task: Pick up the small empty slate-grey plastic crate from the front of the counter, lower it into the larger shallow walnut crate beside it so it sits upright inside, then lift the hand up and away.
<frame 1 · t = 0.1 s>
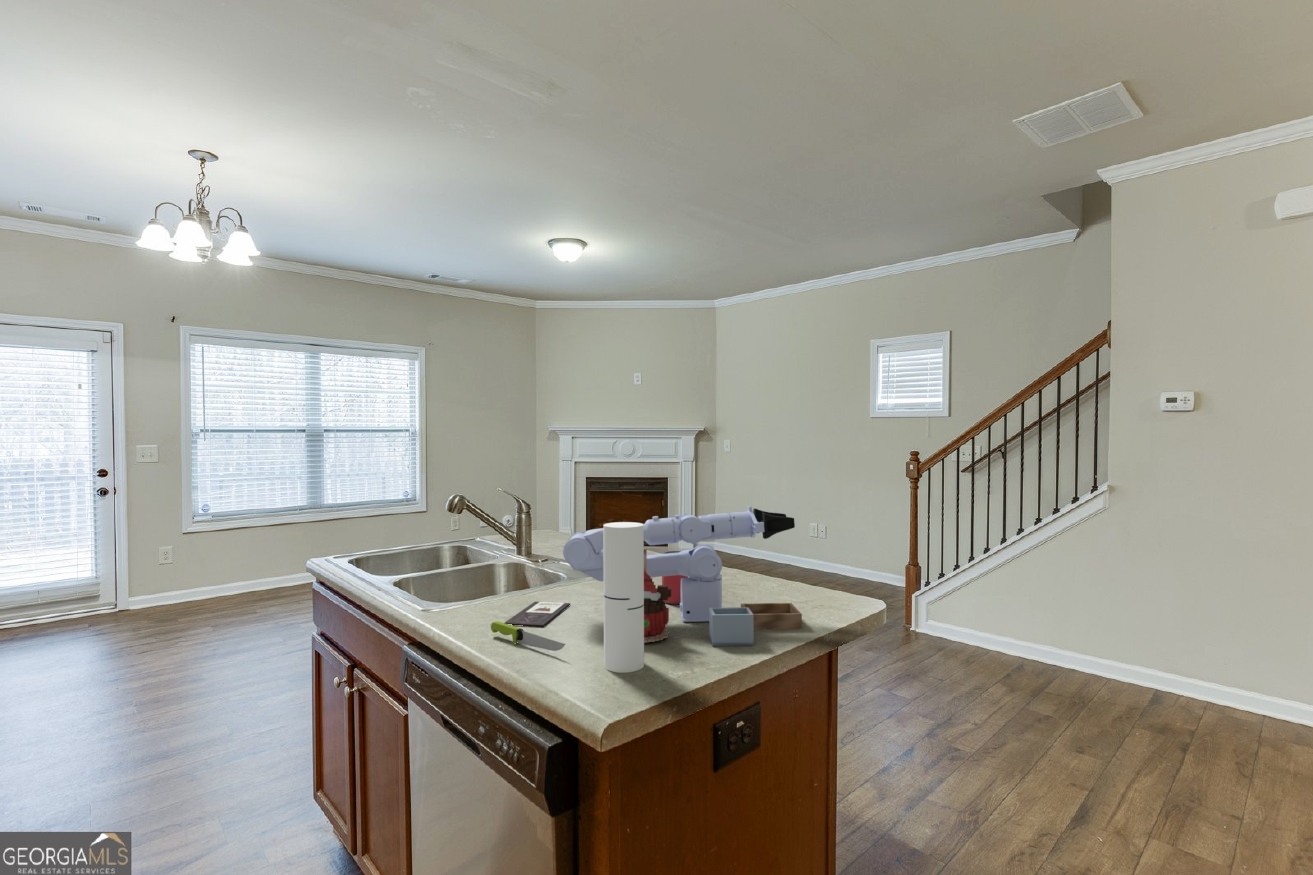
hand: (790, 520, 142), 22 cm above the counter, tool horizontal, fingers open, 7 cm apart
kitchen knife: (527, 648, 122), on the counter
beer can: (675, 602, 156), on the counter
grey crate: (730, 641, 125), on the counter
cylindrical container: (624, 666, 112), on the counter
chocolate bar: (538, 617, 144), on the counter
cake: (644, 639, 127), on the counter
walnut crate: (770, 624, 137), on the counter
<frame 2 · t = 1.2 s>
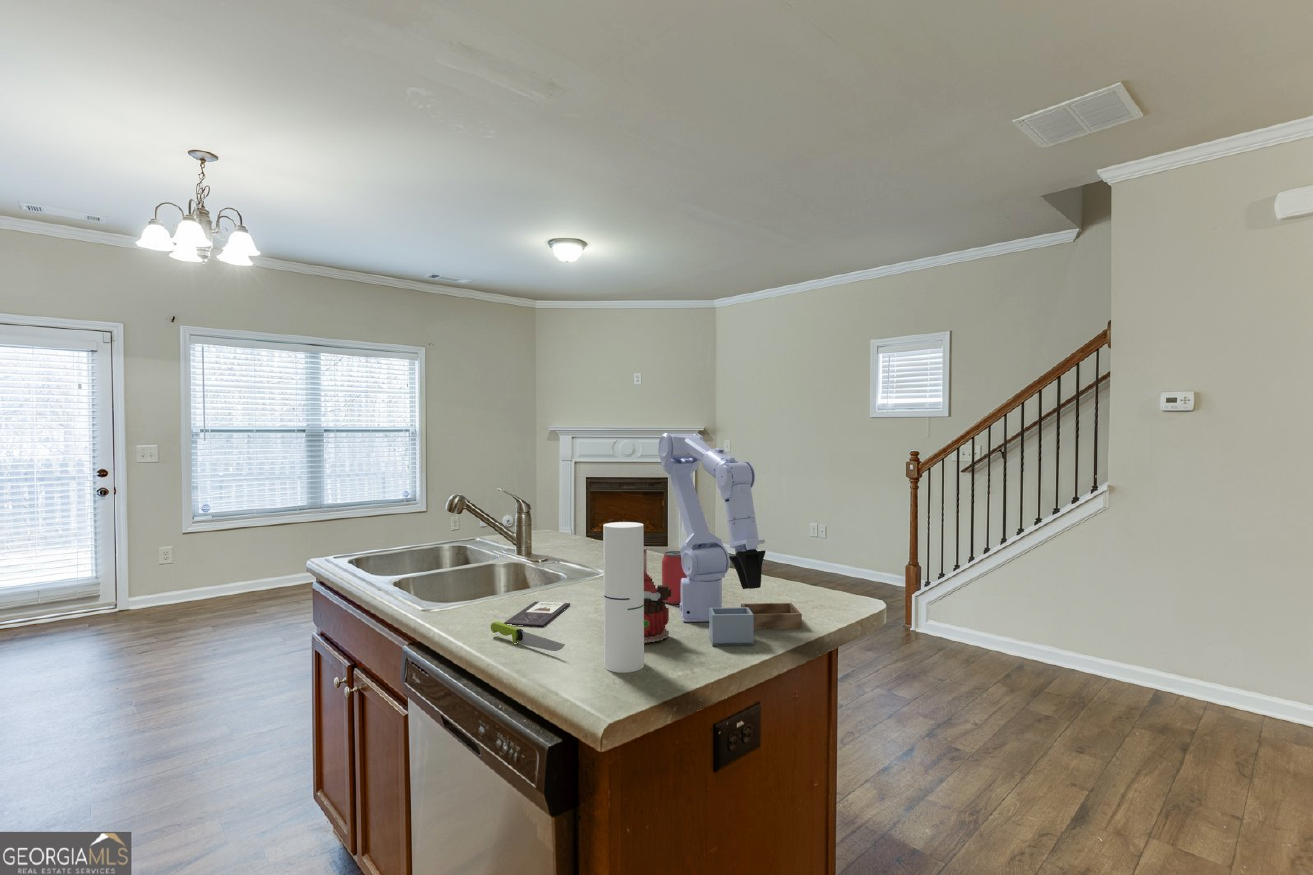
hand: (751, 588, 125), 10 cm above the counter, tool pointing down, fingers open, 7 cm apart
nothing on the counter moved.
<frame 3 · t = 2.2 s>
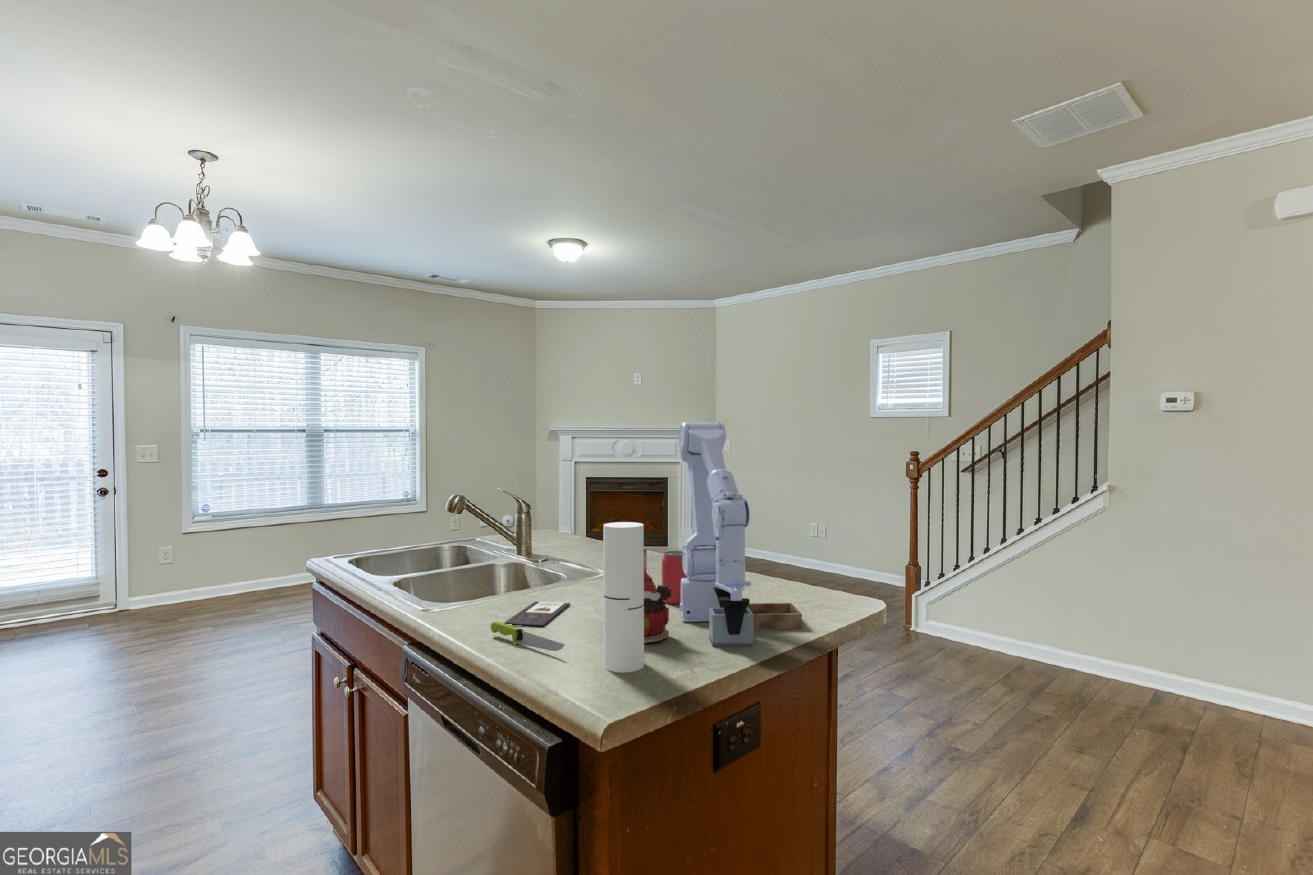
hand: (731, 628, 125), 3 cm above the counter, tool pointing down, fingers open, 7 cm apart
nothing on the counter moved.
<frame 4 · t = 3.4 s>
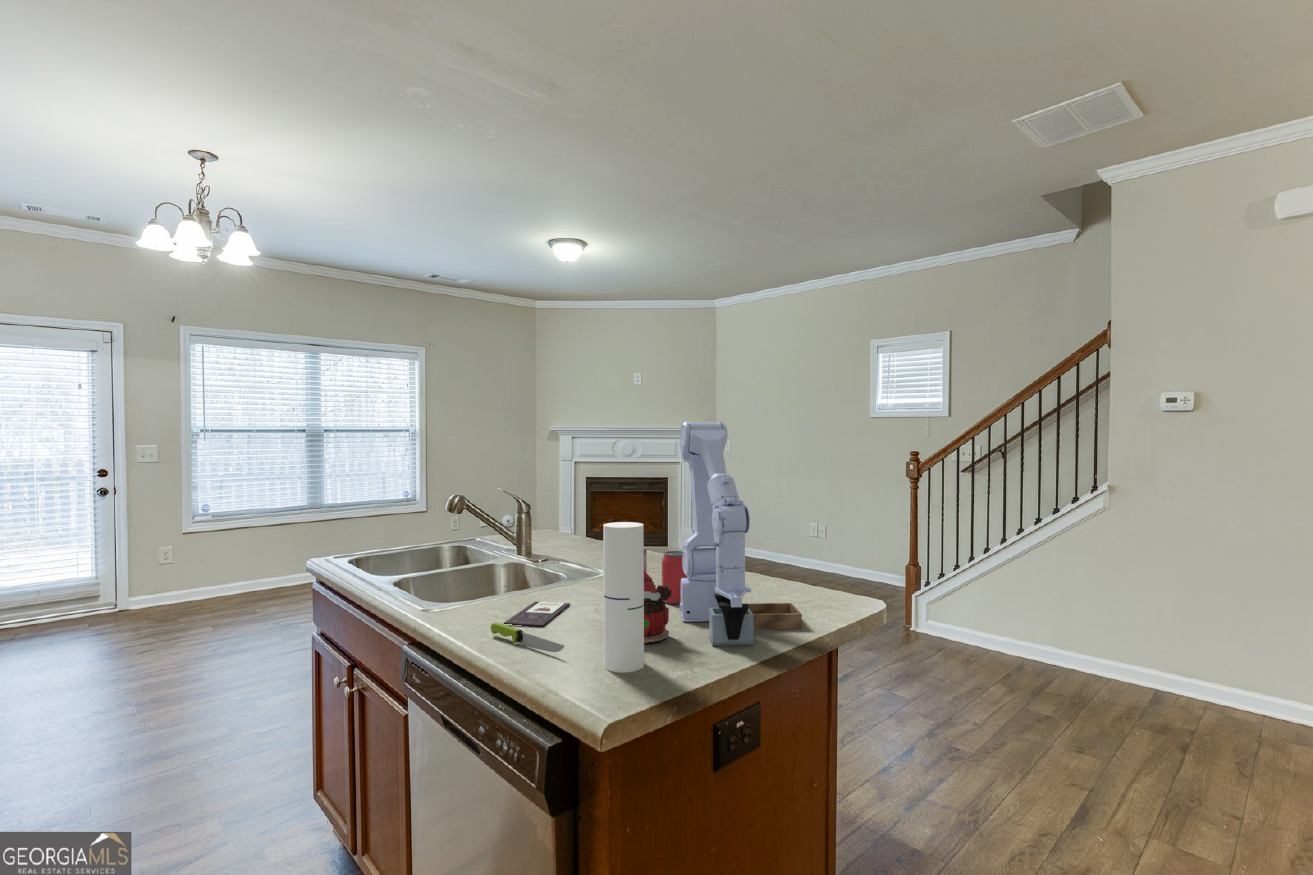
hand: (730, 634, 125), 1 cm above the counter, tool pointing down, fingers closed on grey crate, 5 cm apart
grey crate: (730, 641, 125), on the counter, touching gripper
everything else where it was.
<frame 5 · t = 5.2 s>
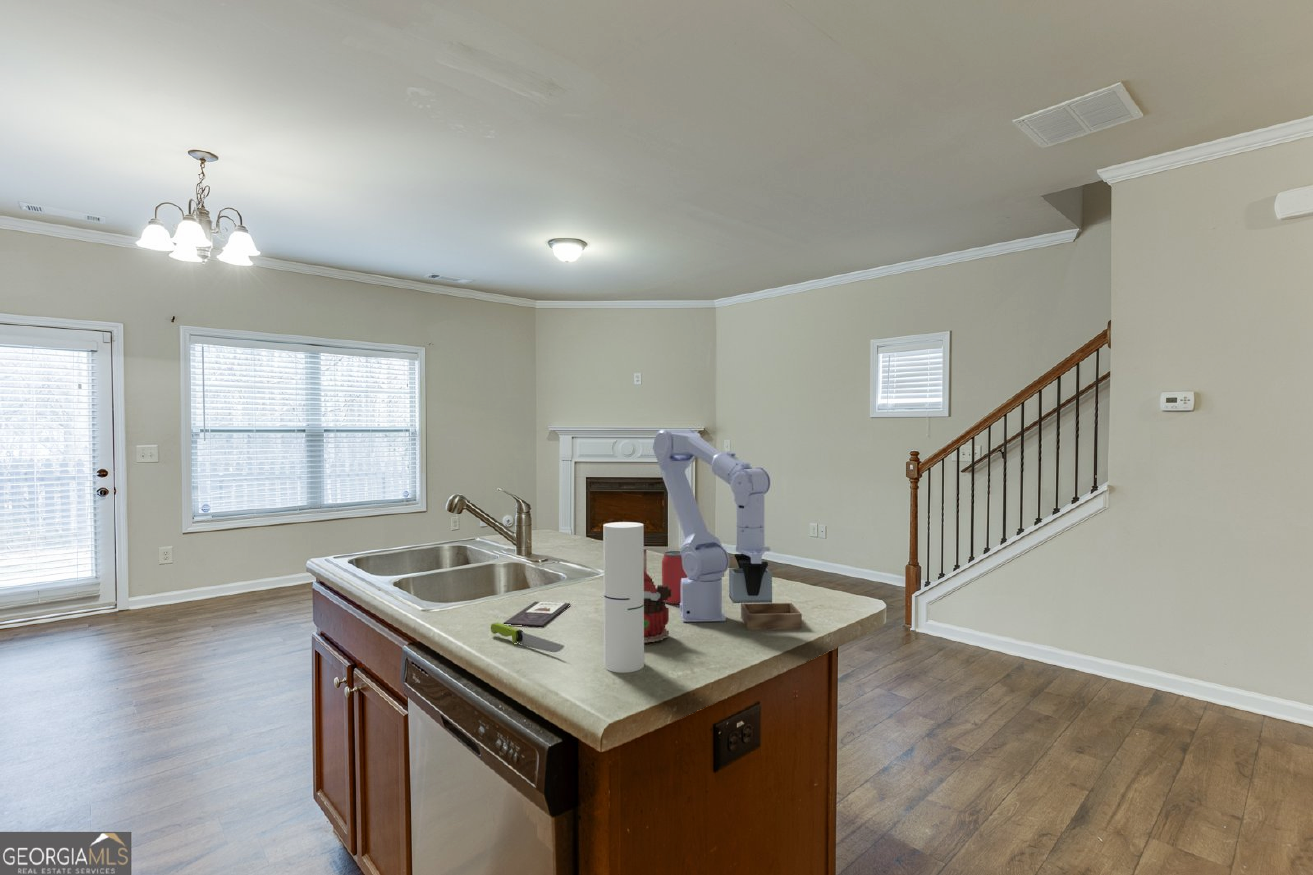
hand: (750, 591, 131), 8 cm above the counter, tool pointing down, fingers closed on grey crate, 5 cm apart
grey crate: (750, 599, 131), point 7 cm above the counter, touching gripper
everything else where it was.
when the fingers open (4 cm above the counter, at t = 7.4 s): grey crate drops 2 cm, resting on walnut crate.
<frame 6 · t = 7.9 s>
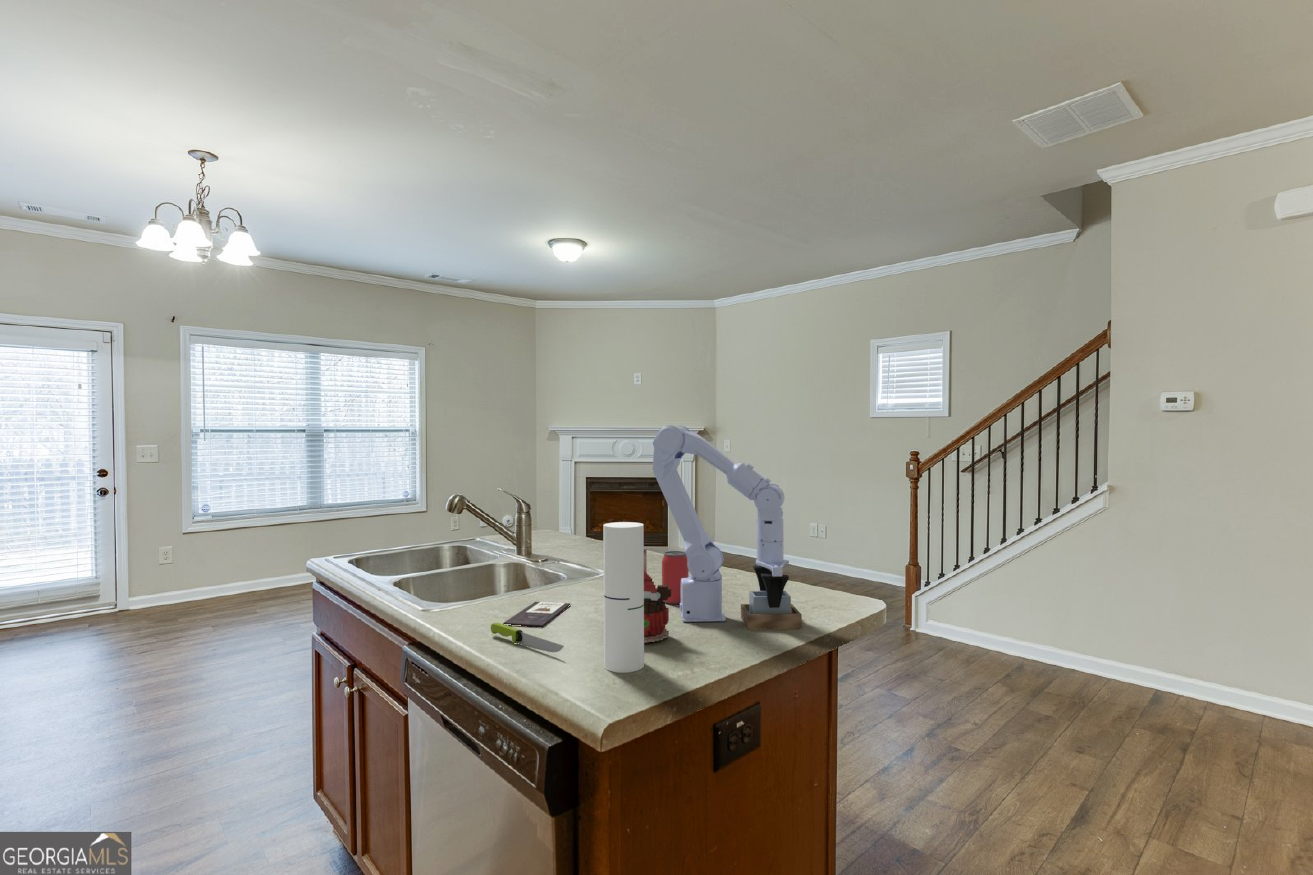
hand: (770, 602, 137), 4 cm above the counter, tool pointing down, fingers open, 7 cm apart
grey crate: (769, 621, 137), resting on walnut crate
walnut crate: (770, 625, 137), on the counter, touching grey crate
everything else where it was.
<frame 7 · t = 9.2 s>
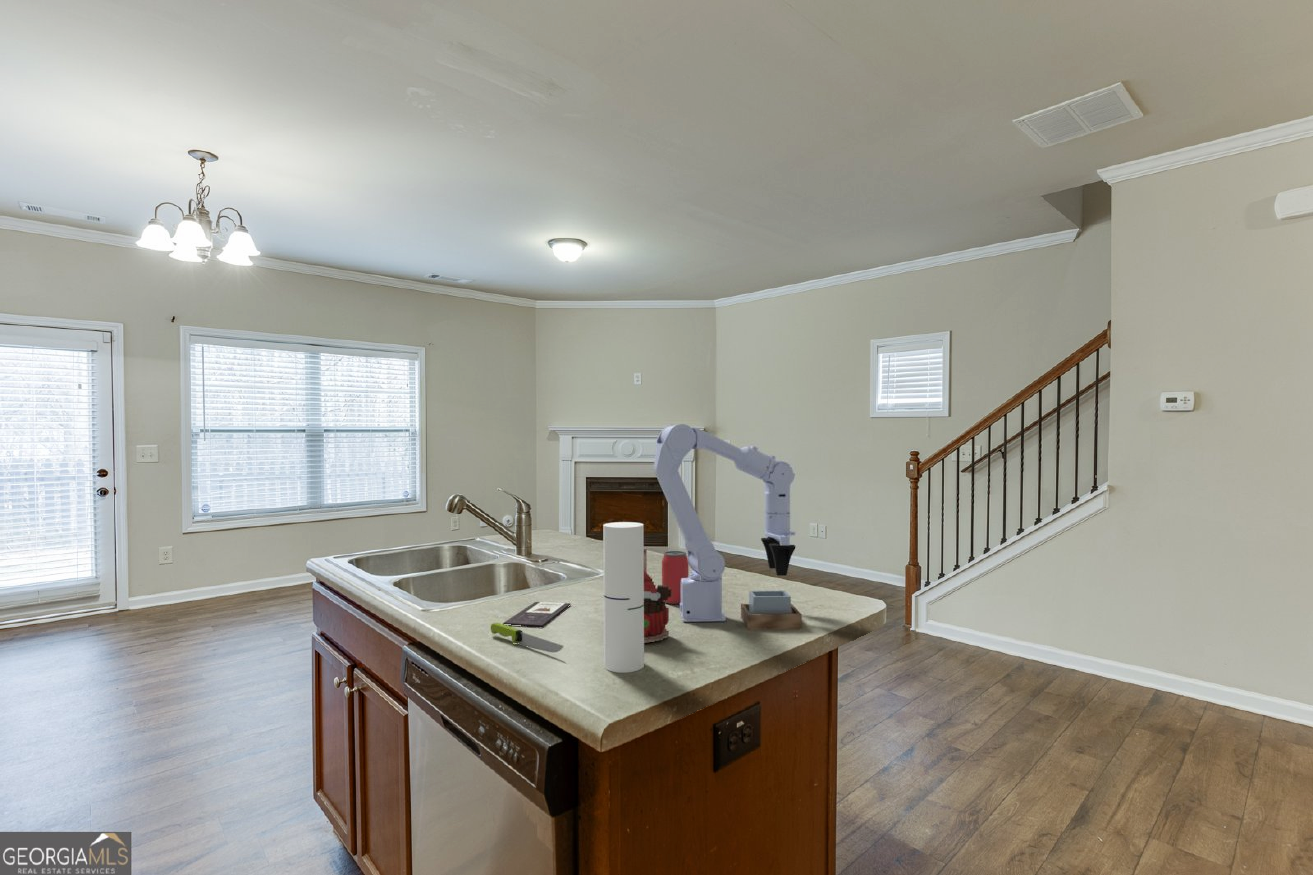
hand: (777, 571, 145), 9 cm above the counter, tool pointing down, fingers open, 7 cm apart
nothing on the counter moved.
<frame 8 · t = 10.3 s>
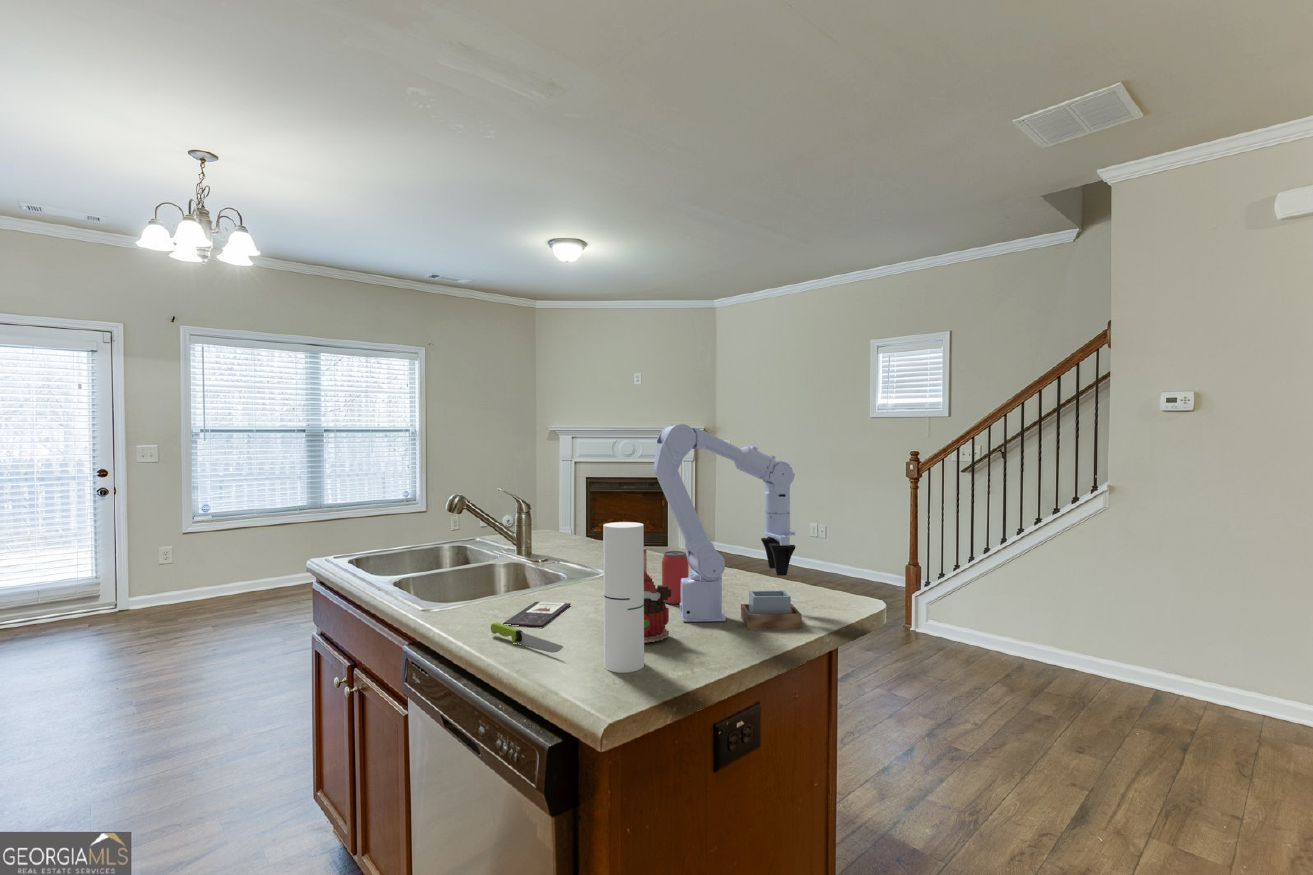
hand: (777, 571, 145), 9 cm above the counter, tool pointing down, fingers open, 7 cm apart
nothing on the counter moved.
at the end: grey crate 0.2 cm off-centre on the walnut crate, point 0.8 cm above the walnut crate's base; grey crate tilted 0°; the gripper is holding nothing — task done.
